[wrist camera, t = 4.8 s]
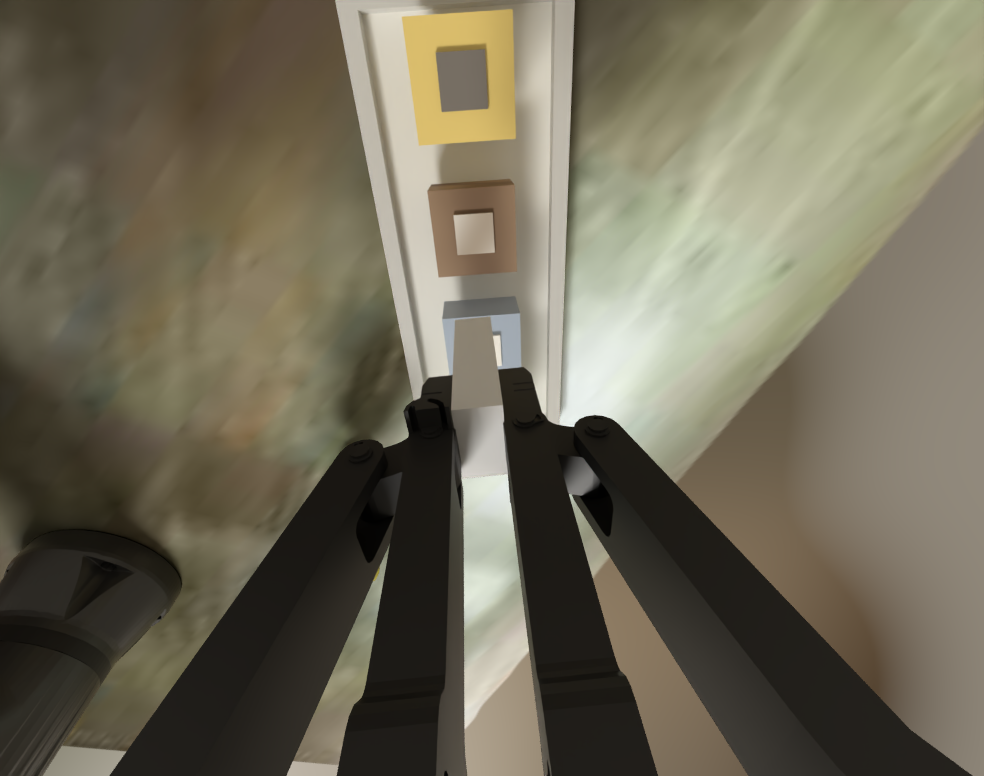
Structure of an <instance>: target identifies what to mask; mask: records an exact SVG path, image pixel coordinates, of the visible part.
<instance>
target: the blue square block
mask: <svg viewBox="0 0 984 776" xmlns="http://www.w3.org/2000/svg"><path fill="white" fill-rule="evenodd" d="M489 316H490V318H491V325H492V332H493V339H494V346H495V353H496V360H497V367H498V369H508V368H518V367H521V332H520V311H519V308H518V304H517V301H516V297H515V296H511V297H498V298H484V299H471V300H458V301H444V308H443V316H442V322H443V330H444V337H445V345H446V352H447V360H448V367H449V375H453V353H454V330H455V320H459V319H469V318H479V317H489Z"/></svg>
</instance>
